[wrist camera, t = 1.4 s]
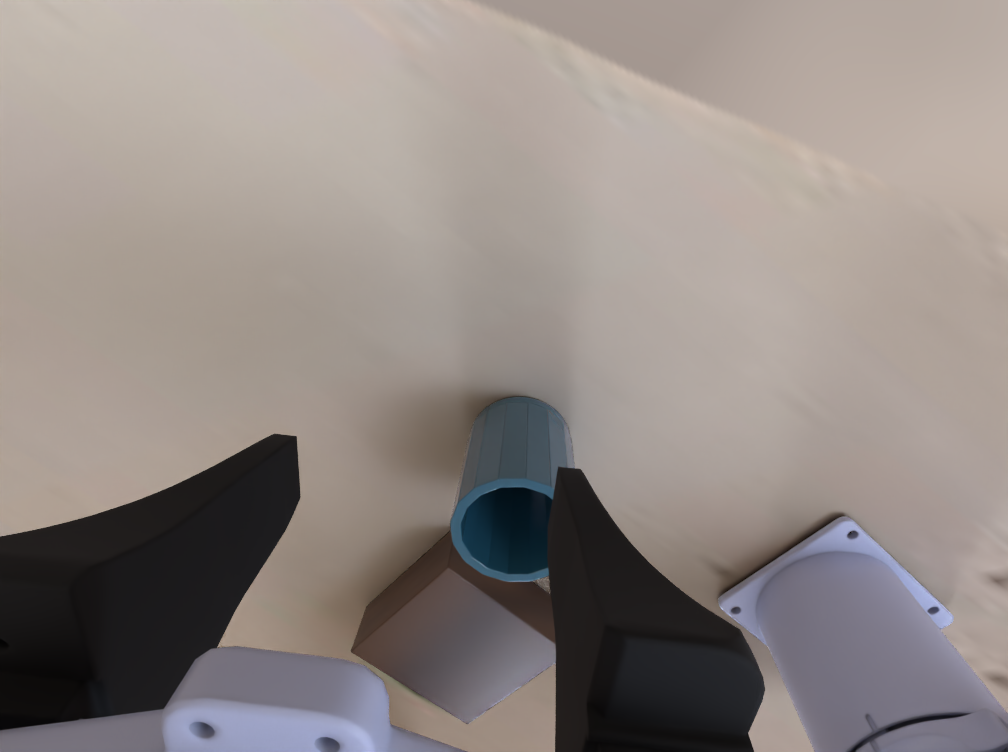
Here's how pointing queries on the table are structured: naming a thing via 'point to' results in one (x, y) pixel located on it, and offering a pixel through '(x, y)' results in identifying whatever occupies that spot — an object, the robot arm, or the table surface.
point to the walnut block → (458, 633)
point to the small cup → (510, 488)
